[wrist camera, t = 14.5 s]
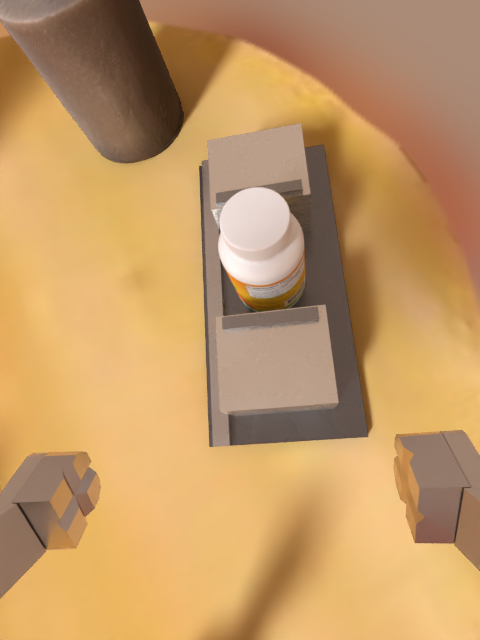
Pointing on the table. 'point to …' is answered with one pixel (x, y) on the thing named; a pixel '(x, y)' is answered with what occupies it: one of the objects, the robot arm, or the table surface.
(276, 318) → the rail plate
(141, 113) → the pillar candle
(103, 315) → the table surface
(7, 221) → the table surface
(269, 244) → the supplement bottle
